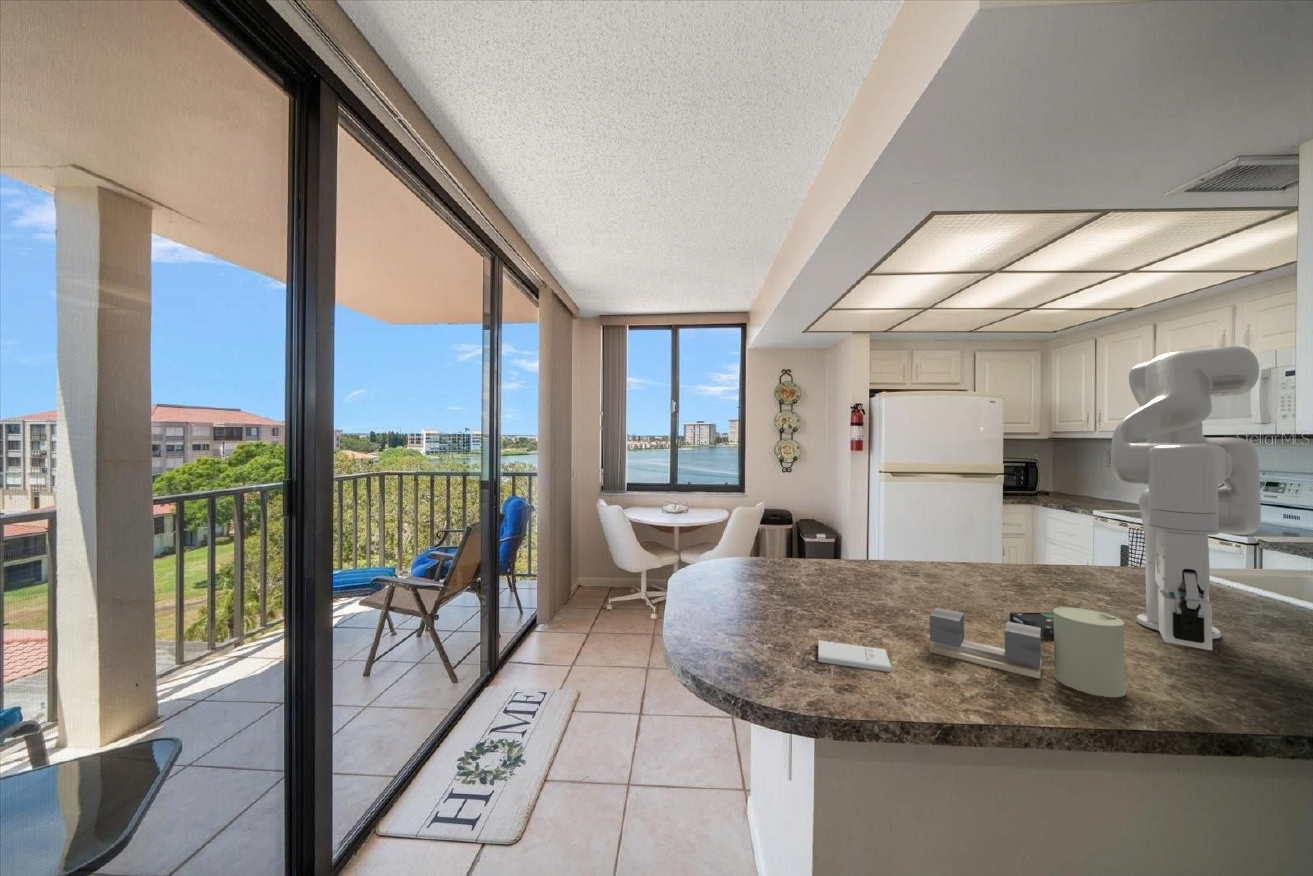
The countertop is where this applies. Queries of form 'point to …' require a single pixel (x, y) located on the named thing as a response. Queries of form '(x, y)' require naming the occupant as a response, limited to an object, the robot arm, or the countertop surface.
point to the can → (1089, 651)
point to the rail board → (1016, 656)
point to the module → (1166, 621)
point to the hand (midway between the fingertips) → (1184, 632)
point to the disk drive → (1036, 621)
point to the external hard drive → (853, 656)
